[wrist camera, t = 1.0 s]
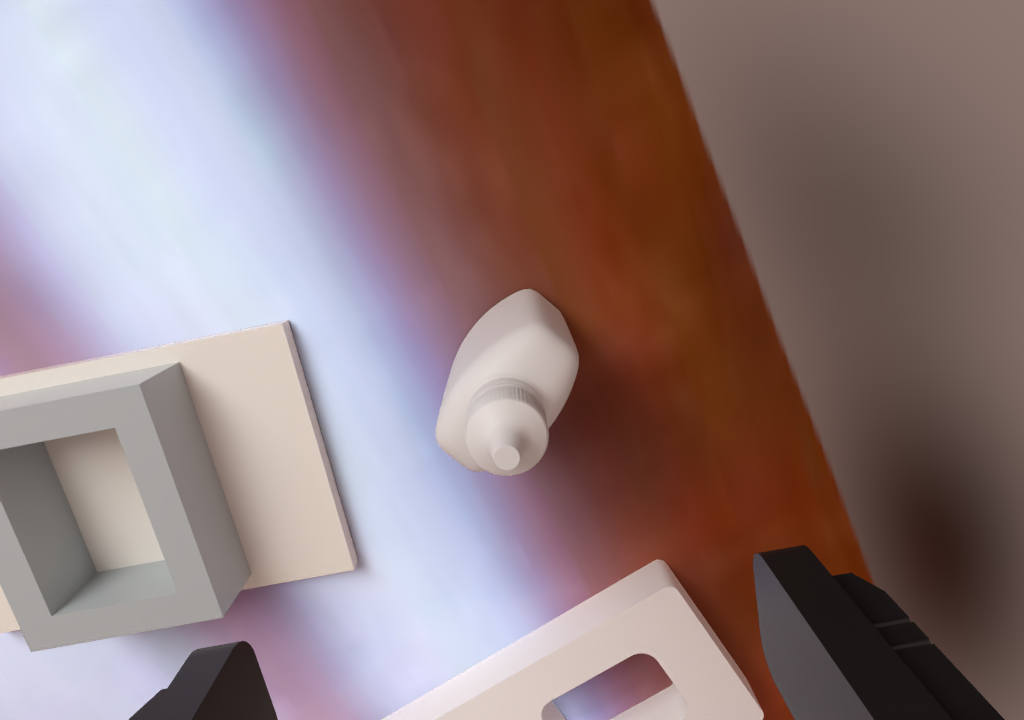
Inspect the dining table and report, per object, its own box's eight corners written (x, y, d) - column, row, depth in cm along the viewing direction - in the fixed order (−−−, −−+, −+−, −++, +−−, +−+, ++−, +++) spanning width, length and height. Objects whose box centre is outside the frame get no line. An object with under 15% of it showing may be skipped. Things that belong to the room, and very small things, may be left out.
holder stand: (-105, 396, 29) (-199, 429, 25) (288, 320, 28) (254, 341, 24) (1, 624, 32) (-68, 684, 28) (357, 560, 31) (337, 613, 28)
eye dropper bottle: (582, 369, 29) (634, 493, 17) (465, 412, 30) (439, 561, 18) (548, 277, 28) (580, 345, 16) (427, 324, 28) (374, 421, 17)
